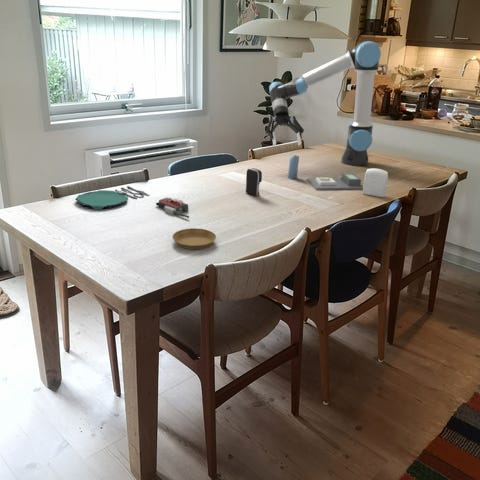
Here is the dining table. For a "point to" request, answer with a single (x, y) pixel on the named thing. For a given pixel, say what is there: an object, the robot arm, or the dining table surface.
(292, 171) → the cell
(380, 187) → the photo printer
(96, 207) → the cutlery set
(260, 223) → the dining table surface
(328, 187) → the cell checker
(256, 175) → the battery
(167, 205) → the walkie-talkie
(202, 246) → the plant saucer
